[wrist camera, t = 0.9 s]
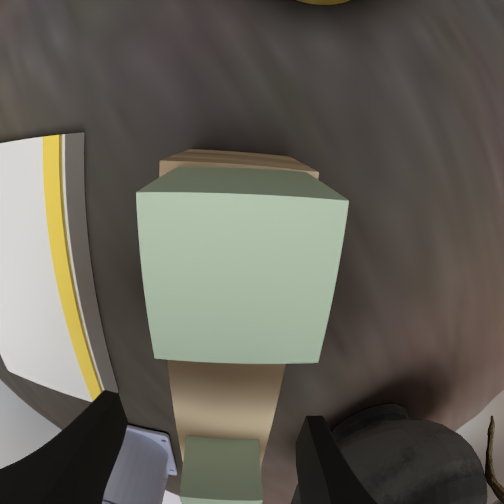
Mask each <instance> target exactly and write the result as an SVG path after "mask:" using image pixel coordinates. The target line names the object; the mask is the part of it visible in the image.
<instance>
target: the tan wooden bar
mask: <svg viewBox="0 0 504 504" xmlns="http://www.w3.org/2000/svg"><path fill="white" fill-rule="evenodd" d="M176 167H229V168H254V169H272V170H287V171H300V172H307V173H308V174H310V175H311V176H313V177H315V178H316V179H318V176H319V172H318V171H316V170H314V169H312V168H310V167H308V166H307V165H305V164H303V163H301V162H299V161H297V160H295V159H293V158H291V157H290V156H281V155H271V154H260V153H248V152H235V151H219V150H199V149H189V150H186V151H184V152H181V153H178V154H176V155H173V156H170V157H168V158H165V159H163V160H160V169H159V178H160V177H161V176H163V175H164V174H166V173H168V172H169V171H171V170H173V169H174V168H176ZM167 363H168V372H169V380H170V387H171V395H172V402H173V408H174V415H175V421H176V427H177V433H178V439H179V444H180V450H181V455H182V460H184V452H185V443H186V436H196V437H208V438H223V439H259V449H260V463H261V464H262V460H263V456H264V453H265V449H266V445H267V441H268V437H269V434H270V430H271V426H272V422H273V418H274V413H275V409H276V405H277V401H278V397H279V392H280V388H281V384H282V379H283V375H284V370H285V366H286V364H240V363H211V362H193V361H179V360H167Z"/></svg>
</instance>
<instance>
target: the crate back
mask: <svg viewBox="0 0 504 504" xmlns="http://www.w3.org/2000/svg"><path fill="white" fill-rule="evenodd" d="M180 499H181V502H182V504H262V502H263V491H262V477H261V463H260V449H259V439H223V438H208V437H196V436H186V443H185V452H184V460H183V469H182V478H181V487H180Z"/></svg>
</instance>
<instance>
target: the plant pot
mask: <svg viewBox="0 0 504 504" xmlns="http://www.w3.org/2000/svg"><path fill="white" fill-rule="evenodd" d="M296 1H299V2H303V3H308V4H316V5H333V4H339V3H344V2H346V1H349V0H296Z"/></svg>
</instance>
